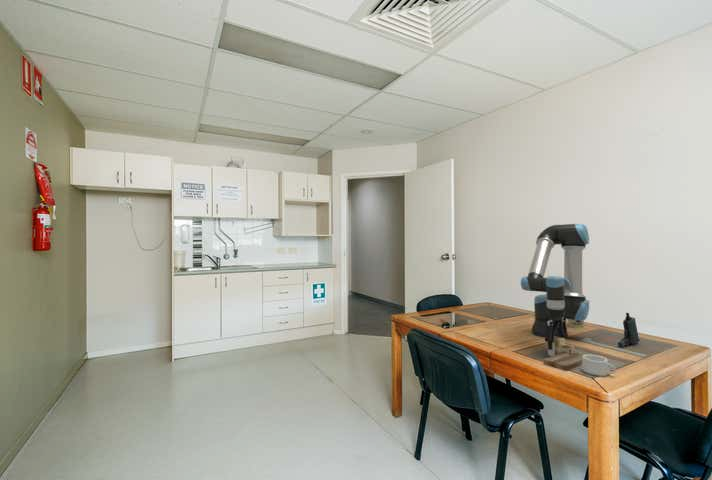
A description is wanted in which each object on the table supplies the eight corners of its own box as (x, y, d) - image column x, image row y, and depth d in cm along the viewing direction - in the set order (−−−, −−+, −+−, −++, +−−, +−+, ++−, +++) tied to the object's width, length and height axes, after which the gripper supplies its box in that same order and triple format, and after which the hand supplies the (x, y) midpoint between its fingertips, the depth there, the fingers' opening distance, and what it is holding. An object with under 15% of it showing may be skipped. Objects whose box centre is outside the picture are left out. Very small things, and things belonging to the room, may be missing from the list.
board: (543, 363, 150) (543, 359, 150) (566, 354, 160) (566, 350, 160) (567, 370, 141) (567, 366, 141) (589, 360, 152) (589, 356, 152)
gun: (612, 320, 168) (628, 309, 174) (618, 351, 169) (634, 339, 175) (618, 321, 165) (634, 310, 171) (624, 352, 167) (640, 340, 173)
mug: (577, 371, 141) (577, 357, 141) (586, 365, 146) (586, 352, 146) (611, 380, 131) (611, 365, 131) (619, 374, 137) (619, 359, 137)
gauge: (549, 353, 162) (548, 337, 162) (554, 351, 165) (554, 335, 164) (570, 360, 153) (570, 342, 153) (576, 357, 156) (575, 340, 156)
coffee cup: (571, 328, 204) (570, 309, 204) (564, 324, 213) (563, 306, 213) (588, 328, 202) (587, 309, 202) (580, 324, 212) (579, 306, 212)
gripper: (551, 312, 152) (552, 360, 152) (575, 306, 164) (576, 351, 163) (535, 309, 159) (536, 356, 159) (559, 304, 170) (560, 347, 170)
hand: (557, 353), depth 161 cm, fingers open, 9 cm apart
